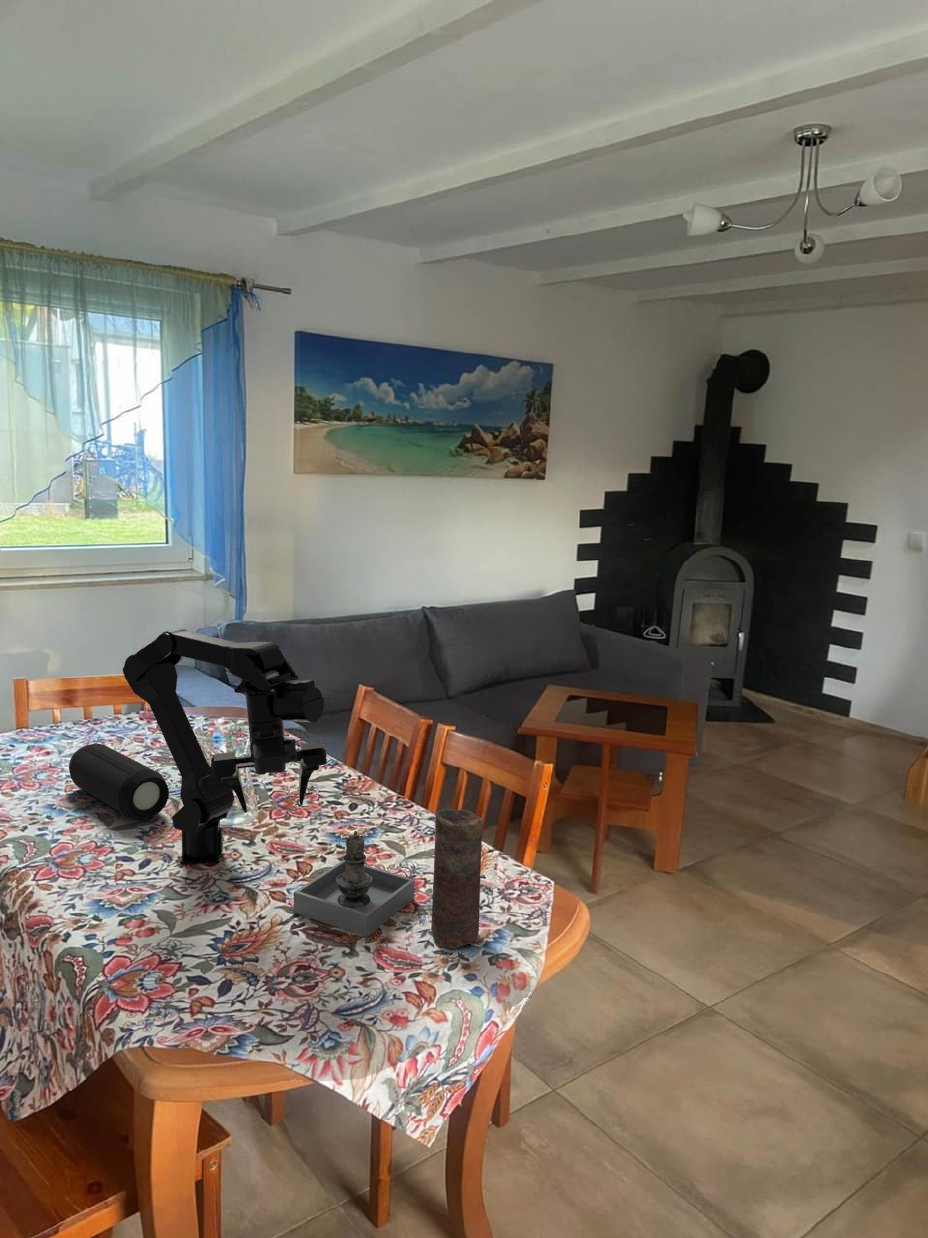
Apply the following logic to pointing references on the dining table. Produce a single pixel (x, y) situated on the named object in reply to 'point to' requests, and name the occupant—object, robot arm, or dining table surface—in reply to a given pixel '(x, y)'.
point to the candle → (456, 878)
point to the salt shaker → (354, 875)
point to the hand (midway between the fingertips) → (273, 808)
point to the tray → (384, 903)
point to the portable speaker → (119, 781)
